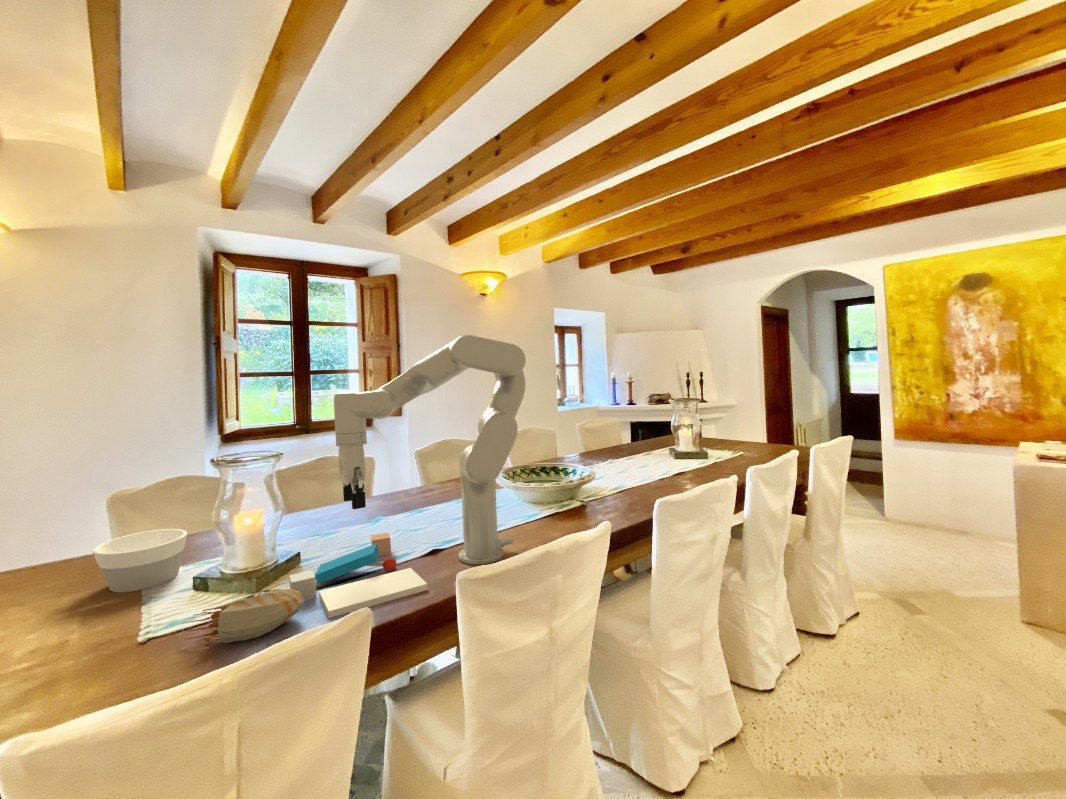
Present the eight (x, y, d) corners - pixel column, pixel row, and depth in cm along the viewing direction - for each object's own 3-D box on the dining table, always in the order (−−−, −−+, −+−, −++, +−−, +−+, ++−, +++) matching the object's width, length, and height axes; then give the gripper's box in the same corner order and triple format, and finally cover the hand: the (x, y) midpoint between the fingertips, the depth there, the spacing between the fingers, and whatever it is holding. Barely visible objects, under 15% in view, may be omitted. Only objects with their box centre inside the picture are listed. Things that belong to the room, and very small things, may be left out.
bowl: (137, 599, 114) (134, 555, 114) (74, 595, 118) (71, 552, 117) (207, 567, 133) (204, 529, 132) (151, 564, 137) (148, 527, 136)
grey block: (313, 590, 116) (311, 570, 116) (316, 597, 112) (315, 576, 112) (290, 595, 113) (289, 575, 113) (293, 603, 109) (291, 582, 109)
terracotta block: (389, 549, 143) (388, 532, 142) (391, 554, 138) (390, 537, 138) (371, 552, 141) (370, 535, 140) (373, 557, 136) (372, 540, 136)
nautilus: (166, 665, 87) (204, 628, 102) (292, 641, 92) (312, 608, 106) (161, 623, 87) (200, 591, 102) (288, 600, 92) (308, 573, 106)
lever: (324, 601, 120) (397, 572, 124) (314, 575, 119) (388, 547, 123) (330, 589, 127) (399, 562, 131) (320, 564, 127) (390, 538, 130)
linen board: (410, 573, 124) (410, 567, 124) (427, 589, 114) (427, 583, 114) (319, 597, 112) (318, 591, 112) (329, 618, 102) (328, 611, 102)
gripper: (329, 437, 129) (332, 500, 130) (343, 443, 114) (346, 514, 115) (358, 434, 133) (361, 495, 134) (375, 440, 118) (378, 508, 119)
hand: (354, 504), depth 124 cm, fingers open, 9 cm apart
